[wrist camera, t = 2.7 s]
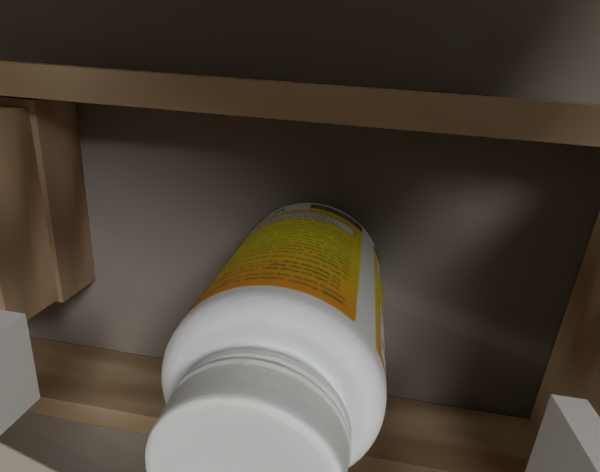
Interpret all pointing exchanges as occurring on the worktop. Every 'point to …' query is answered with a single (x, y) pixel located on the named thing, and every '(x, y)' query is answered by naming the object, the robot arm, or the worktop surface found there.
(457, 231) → the worktop surface
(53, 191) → the offcut slab low
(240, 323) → the supplement bottle
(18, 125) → the offcut slab top
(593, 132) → the light wood open box
